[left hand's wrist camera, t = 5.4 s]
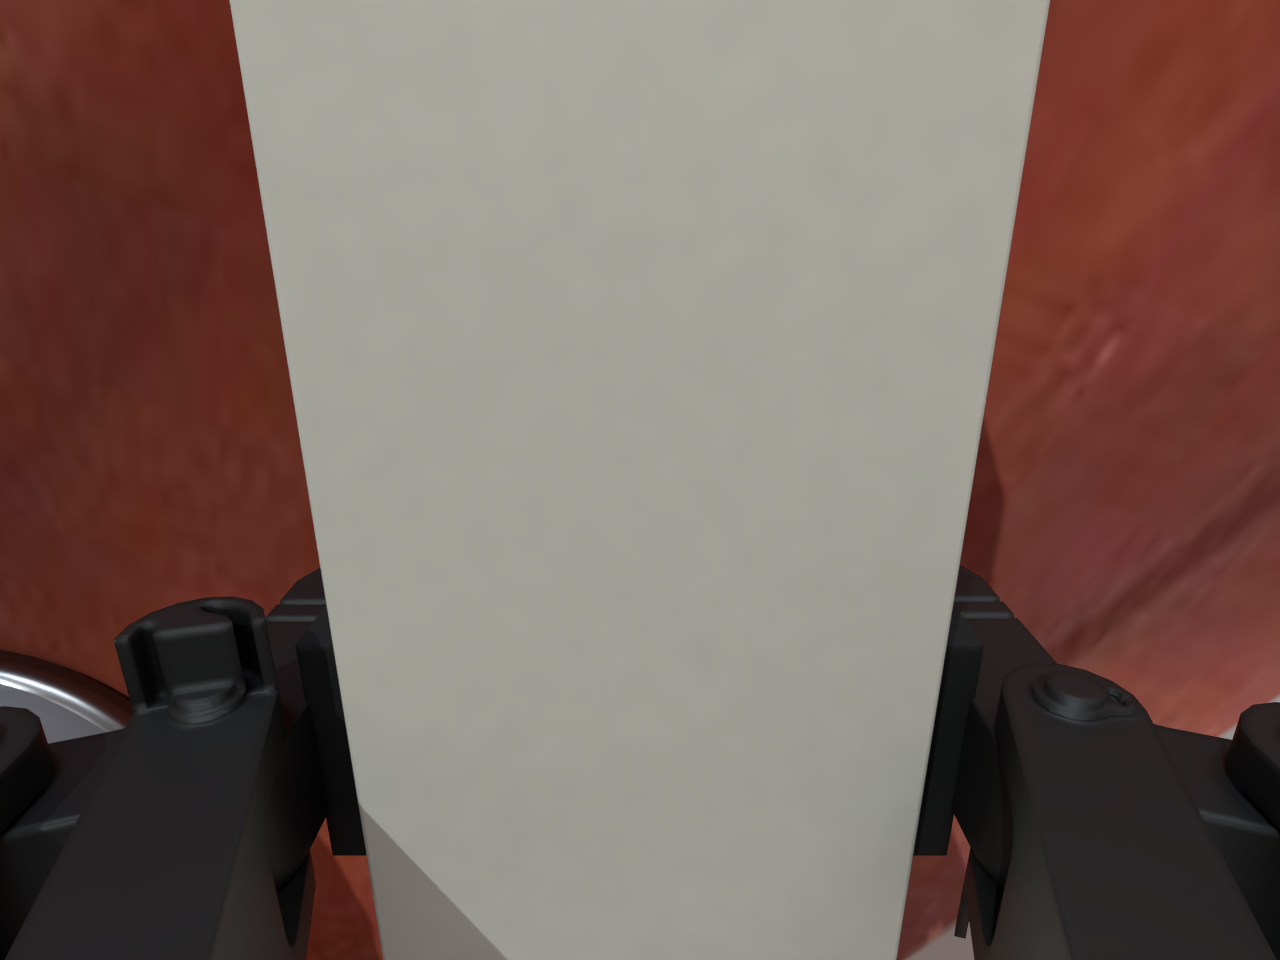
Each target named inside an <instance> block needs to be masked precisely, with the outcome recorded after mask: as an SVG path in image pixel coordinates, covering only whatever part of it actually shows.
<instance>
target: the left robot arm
mask: <svg viewBox="0 0 1280 960" xmlns="http://www.w3.org/2000/svg"><path fill="white" fill-rule="evenodd" d="M999 599H1000V598H999V597H998V596H997V594H996V593H995V592H994V591H993V590H992V589H991V588H990V586H989V585H988V584H987V583H986V582H985V581H984V580H983V578H981V577H979V576H978V575H976V574H974V573H972V572H971V571H969V570H967V569H966V568H964V567H962V566H960V565H959V571H958V577H957V583H956V590H955V596H954V602H953V608H952V615H951V621H950V627H949V633H948V640H947V646H946V652H945V658H944V665H943V671H942V677H941V683H940V690H939V696H938V702H937V708H936V715H935V721H934V727H933V733H932V739H931V746H930V752H929V758H928V764H927V771H926V777H925V783H924V789H923V796H922V802H921V808H920V814H919V821H918V827H917V833H916V839H915V846H914V852H913V855H947V850H948V844H949V838H950V833H951V827H952V822H953V816H954V815H955V817H956V819H957V821H958V823H959V825H960V827H961V829H962V831H963V833H964V835H965V837H966V839H967V841H968V843H969V845H970V847H971V848H970V853H969V859H968V864H967V869H966V874H965V879H964V884H963V890H962V895H961V900H960V905H959V910H958V916H957V921H956V928H955V936H957V937H961V938H966V933H967V928H968V922H969V921H970V928H971V936H972V944H973V951H974V959H975V960H1280V703H1278V702H1273V703H1264V704H1256V705H1252V706H1251V707H1249V708H1248V709H1247V710H1245V711H1244V712H1242V713H1241V715H1240V718H1239V721H1238V724H1237V727H1236V730H1235V733H1234V736H1233V740H1230V739H1224V738H1219V737H1214V736H1209V735H1203V734H1198V733H1193V732H1188V731H1183V730H1177V729H1172V728H1167V727H1163V726H1159V725H1155V724H1153V722H1152V720H1151V718H1150V716H1149V715H1148V713H1147V711H1146V710H1145V709H1144V707H1143V706H1142V705H1141V704H1140V703H1139V701H1138V700H1137V699H1136V698H1135V697H1134V696H1133V695H1132V694H1131V693H1129V692H1128V691H1126V690H1125V689H1123V688H1122V687H1120V686H1119V685H1117V684H1116V683H1114V682H1113V681H1111V680H1108V679H1106V678H1103V677H1101V676H1099V675H1096V674H1094V673H1091V672H1089V671H1086V670H1083V669H1078V668H1074V667H1070V666H1065V665H1061V664H1057V663H1056V662H1055V661H1054V660H1053V658H1052V657H1051V656H1050V655H1049V654H1048V653H1047V652H1046V650H1045V649H1044V648H1043V647H1042V646H1041V645H1040V644H1039V642H1038V641H1037V640H1036V639H1035V638H1034V637H1033V636H1032V634H1031V633H1030V632H1029V631H1028V630H1027V629H1026V628H1025V626H1024V625H1023V624H1022V623H1021V622H1020V621H1019V620H1018V619H1014V614H1013V613H1012V612H1011V610H1010V609H1009V608H1008V607H1007V606H1006V605H1005V604H1004V602H1000V600H999ZM114 643H115V646H116V650H117V654H118V657H119V661H120V665H121V668H122V672H123V676H124V679H125V683H126V687H127V690H128V694H129V698H130V701H131V702H129V701H128V700H126V699H125V698H123V697H122V696H120V695H119V694H117V693H116V692H114V691H112V690H110V689H109V688H107V687H105V686H103V685H101V684H100V683H98V682H96V681H94V680H92V679H90V678H88V677H86V676H83V675H81V674H79V673H77V672H75V671H72V670H70V669H67V668H64V667H62V666H59V665H57V664H54V663H51V662H48V661H44V660H41V659H38V658H35V657H31V656H26V655H22V654H18V653H13V652H8V651H2V650H0V960H306V953H307V946H308V938H309V930H310V923H311V915H312V908H313V900H314V892H315V885H316V884H315V876H314V869H313V864H312V859H311V853H310V848H311V846H312V844H313V842H314V840H315V838H316V836H317V834H318V832H319V830H320V828H321V826H322V824H323V822H324V820H325V818H326V819H327V825H328V831H329V836H330V842H331V847H332V853H333V855H367V854H366V848H365V842H364V835H363V829H362V823H361V817H360V811H359V804H358V798H357V792H356V786H355V779H354V773H353V767H352V761H351V754H350V748H349V742H348V736H347V729H346V723H345V717H344V711H343V704H342V698H341V692H340V686H339V679H338V673H337V667H336V661H335V654H334V648H333V642H332V636H331V629H330V623H329V617H328V611H327V605H326V598H325V592H324V586H323V580H322V573H321V568H319V569H317V570H315V571H314V572H312V573H310V574H309V575H307V576H305V577H303V578H302V579H300V580H298V581H297V582H296V583H295V584H294V586H293V587H292V588H291V589H290V590H289V591H288V592H287V594H286V595H285V596H284V597H283V598H282V599H281V601H280V605H276V606H275V607H274V609H273V610H272V611H271V612H270V613H269V614H268V615H267V617H266V620H265V615H264V610H263V608H262V607H260V606H259V605H258V604H256V603H255V602H253V601H252V600H247V599H242V598H236V597H208V598H202V599H197V600H192V601H187V602H182V603H177V604H174V605H172V606H169V607H166V608H163V609H160V610H157V611H155V612H152V613H150V614H148V615H146V616H144V617H143V618H141V619H139V620H137V621H135V622H134V623H132V624H130V625H128V626H127V627H126V628H125V629H124V630H123V631H122V632H121V633H120V634H119V635H118V636H117V637H116V638H115V639H114Z"/></svg>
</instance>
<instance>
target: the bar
mask: <svg viewBox="0 0 1280 960" xmlns="http://www.w3.org/2000/svg"><path fill="white" fill-rule="evenodd" d="M1049 3H1050V0H230V5H231V11H232V18H233V24H234V30H235V36H236V43H237V49H238V55H239V61H240V68H241V74H242V80H243V86H244V93H245V99H246V105H247V111H248V118H249V124H250V130H251V136H252V143H253V149H254V155H255V161H256V168H257V174H258V180H259V186H260V192H261V199H262V205H263V211H264V217H265V224H266V230H267V236H268V242H269V249H270V255H271V261H272V267H273V274H274V280H275V286H276V292H277V299H278V305H279V311H280V317H281V324H282V330H283V336H284V342H285V349H286V355H287V361H288V367H289V374H290V380H291V386H292V392H293V398H294V405H295V411H296V417H297V423H298V430H299V436H300V442H301V448H302V455H303V461H304V467H305V473H306V480H307V486H308V492H309V498H310V505H311V511H312V517H313V523H314V530H315V536H316V542H317V548H318V555H319V561H320V567H321V573H322V580H323V586H324V592H325V598H326V605H327V611H328V617H329V623H330V629H331V636H332V642H333V648H334V654H335V661H336V667H337V673H338V679H339V686H340V692H341V698H342V704H343V711H344V717H345V723H346V729H347V736H348V742H349V748H350V754H351V761H352V767H353V773H354V779H355V786H356V792H357V798H358V804H359V811H360V817H361V823H362V829H363V835H364V842H365V848H366V854H367V860H368V867H369V873H370V879H371V885H372V892H373V898H374V904H375V910H376V917H377V923H378V929H379V935H380V942H381V948H382V954H383V960H896V958H897V952H898V945H899V939H900V933H901V927H902V920H903V914H904V908H905V902H906V896H907V889H908V883H909V877H910V871H911V864H912V858H913V852H914V846H915V839H916V833H917V827H918V821H919V814H920V808H921V802H922V796H923V789H924V783H925V777H926V771H927V764H928V758H929V752H930V746H931V739H932V733H933V727H934V721H935V715H936V708H937V702H938V696H939V690H940V683H941V677H942V671H943V665H944V658H945V652H946V646H947V640H948V633H949V627H950V621H951V615H952V608H953V602H954V596H955V590H956V583H957V577H958V571H959V565H960V558H961V552H962V546H963V540H964V534H965V527H966V521H967V515H968V509H969V502H970V496H971V490H972V484H973V477H974V471H975V465H976V459H977V452H978V446H979V440H980V434H981V427H982V421H983V415H984V409H985V402H986V396H987V390H988V384H989V378H990V371H991V365H992V359H993V353H994V346H995V340H996V334H997V328H998V321H999V315H1000V309H1001V303H1002V296H1003V290H1004V284H1005V278H1006V271H1007V265H1008V259H1009V253H1010V246H1011V240H1012V234H1013V228H1014V221H1015V215H1016V209H1017V203H1018V197H1019V190H1020V184H1021V178H1022V172H1023V165H1024V159H1025V153H1026V147H1027V140H1028V134H1029V128H1030V122H1031V115H1032V109H1033V103H1034V97H1035V90H1036V84H1037V78H1038V72H1039V65H1040V59H1041V53H1042V47H1043V40H1044V34H1045V28H1046V22H1047V16H1048V9H1049Z"/></svg>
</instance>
